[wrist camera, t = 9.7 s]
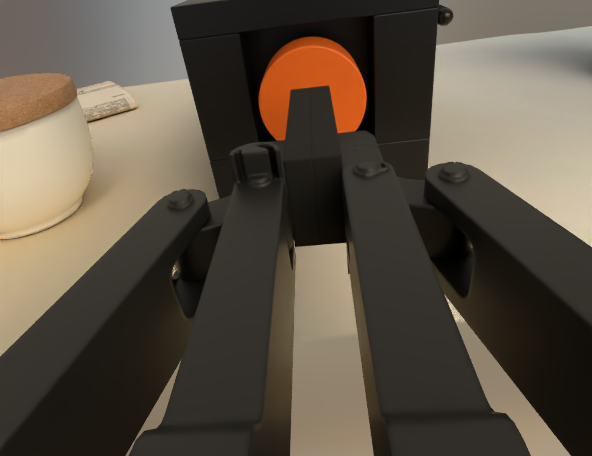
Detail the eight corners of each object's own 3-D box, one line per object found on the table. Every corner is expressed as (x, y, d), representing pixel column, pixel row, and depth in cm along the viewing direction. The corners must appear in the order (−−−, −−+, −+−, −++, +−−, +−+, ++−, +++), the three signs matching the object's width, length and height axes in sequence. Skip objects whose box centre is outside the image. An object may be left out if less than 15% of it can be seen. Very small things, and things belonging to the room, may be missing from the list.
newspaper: (108, 92, 55) (101, 73, 53) (142, 119, 47) (135, 98, 45) (-101, 145, 44) (-117, 124, 43) (-103, 192, 36) (-122, 167, 35)
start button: (367, 148, 20) (365, 38, 17) (267, 159, 20) (249, 53, 18) (362, 130, 22) (359, 29, 19) (270, 140, 22) (255, 43, 20)
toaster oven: (462, 190, 23) (490, -37, 17) (222, 213, 24) (169, 7, 18) (402, 101, 37) (406, -41, 31) (252, 118, 39) (228, -17, 32)
